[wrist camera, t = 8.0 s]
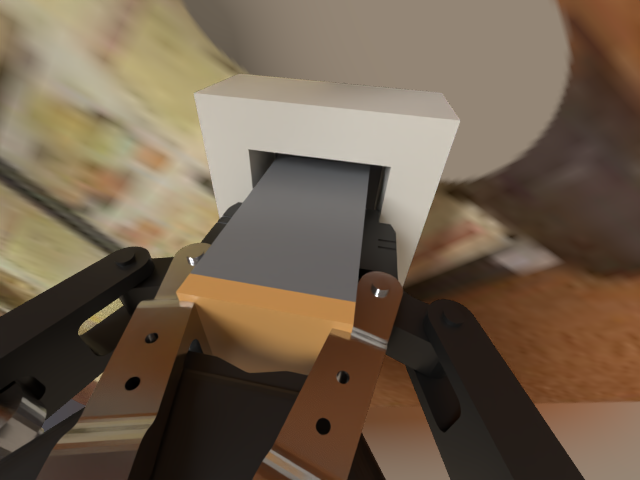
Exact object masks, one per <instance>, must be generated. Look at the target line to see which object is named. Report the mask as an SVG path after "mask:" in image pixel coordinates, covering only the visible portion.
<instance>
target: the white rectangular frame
mask: <svg viewBox="0 0 640 480" xmlns="http://www.w3.org/2000/svg"><path fill="white" fill-rule="evenodd" d="M194 98H195V102H196V107H197V112H198V117H199V122H200V126H201V131H202V136H203V141H204V146H205V150H206V155H207V160H208V165H209V170H210V175H211V179H212V184H213V189H214V194H215V199H216V203H217V208H218V213H219V218H221V217H222V216H223V214H224V213H225V212H226V210H227V209H228V208H229V207H231V206H232V205H234V204H236V203H238V202H241V203H243V202H244V200H245V199H246V198H247V196H248V195H249V194H250V192H251V191H252V190H253V188H254V187H255V186H256V184H257V183H258V182H259V180H260V179H261V178H262V176H263V175H264V174H265V172H266V171H267V170H268V168H269V167H270V166H271V164H272V163H273V162H274V160H275V159H276V158H277V156H278V155H286V156H294V157H302V158H310V159H319V160H327V161H335V162H343V163H351V164H360V165H368V166H370V171H369V180H368V190H367V199H366V209H373V210H379V223H385V224H391V226H392V227H393V229H394V231H395V232H396V245H397V250H396V251H397V269H398V281H399V282H400V283H401V285H402V288H403V285H404V282H405V279H406V276H407V273H408V270H409V267H410V265H411V262H412V259H413V256H414V253H415V250H416V247H417V244H418V242H419V239H420V236H421V233H422V230H423V227H424V224H425V221H426V219H427V216H428V213H429V210H430V207H431V204H432V201H433V198H434V196H435V193H436V190H437V187H438V184H439V181H440V178H441V175H442V173H443V170H444V166H445V164H446V161H447V158H448V155H449V152H450V150H451V147H452V144H453V141H454V138H455V135H456V132H457V129H458V127H459V124H460V119H459V118H458V116H457V115H456V113H455V112H454V110H453V109H452V107H451V106H450V104H449V103H448V101H447V100H446V98H445V97H444V95H443V94H442V93H441V92H429V91H419V90H409V89H398V88H387V87H376V86H366V85H355V84H345V83H334V82H324V81H313V80H302V79H292V78H281V77H270V76H260V75H249V74H237V75H234V76H232V77H230V78H227V79H225V80H223V81H220V82H218V83H216V84H213V85H211V86H209V87H206V88H204V89H202V90H199V91H197V92H195V93H194Z"/></svg>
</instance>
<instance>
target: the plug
mask: <svg viewBox="0 0 640 480" xmlns="http://www.w3.org/2000/svg"><path fill="white" fill-rule="evenodd" d="M369 171H370V166H368V165H360V164H351V163H343V162H335V161H327V160H319V159H310V158H302V157H294V156H286V155H278V156H277V158H276V159H275V160H274V162H273V163H272V164H271V166H270V167H269V168H268V170H267V171H266V172H265V174H264V175H263V176H262V178H261V179H260V180H259V182H258V183H257V184H256V186H255V187H254V188H253V190H252V191H251V192H250V194H249V195H248V196H247V198H246V199H245V200H244V202H243V203H242V204H241V206H240V207H239V208H238V210H237V211H236V212H235V214H234V215H233V216H232V218H231V219H230V220H229V222H228V223H227V224H226V226H225V227H224V228H223V230H222V231H221V233H220V234H219V235H218V237H217V238H216V239H215V241H214V242H213V243H212V245H211V246H210V247H209V249H208V250H207V251H206V253H205V254H204V255H203V257H202V258H201V259H200V261H199V262H198V263H197V265H196V266H195V267H194V269H193V270H192V271H191V273H190V274H189V275H188V277H187V278H186V279H185V281H184V282H183V283H182V285H181V286H180V287H179V289H178V290H177V291H176V294H177V296H178V299H179V301H188V302H194V303H195V306H196V309H197V312H198V315H199V317H200V320H201V323H202V326H203V329H204V331H205V334H206V337H207V340H208V343H209V345H210V348H211V351H212V354H213V356H217V357H219V358H221V359H223V360H225V361H227V362H228V363H230V364H232V365H234V366H236V367H238V368H240V369H241V370H243V371H245V372H248V373H259V372H276V371H290V372H295V373H300V374H304V375H309V373H310V371H311V369H312V367H313V365H314V363H315V361H316V359H317V357H318V355H319V353H320V351H321V349H322V347H323V345H324V343H325V341H326V339H327V337H328V335H329V333H330V331H331V329H332V328H334V329H338V330H342V331H346V332H350V333H352V329H353V323H354V314H355V304H356V295H357V285H358V276H359V266H360V257H361V247H362V237H363V228H364V218H365V209H366V199H367V190H368V180H369Z"/></svg>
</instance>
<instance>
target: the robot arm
mask: <svg viewBox="0 0 640 480" xmlns="http://www.w3.org/2000/svg"><path fill="white" fill-rule="evenodd" d="M241 204H242V203H241V202H238V203H236V204H234V205H232V206H231V207H229V208H228V209H227V210H226V212H225V213H224V214H223V216H222V217H221V218H220V219H219V220H218V223H216V224H215V225H214V227H213V228H212V229H211V230H210V232H209V233H208V234H207V235H206V237H205V238H204V239H203V240H202V242H201V243H194V244H190V245H187V246H185V247H183V248H182V249H180V250H179V251H178V252H177V253H176V254H175V256H174V257H167V258H154V259H152V258H151V256H150V254H149V252H148V250H146V249H145V248H142V247H127V248H123V249H120V250H118V251H115V252H114V253H112V254H110V255H108V256H106V257H105V258H103V259H101V260H99V261H98V262H96V263H94V264H92V265H91V266H89V267H87V268H85V269H84V270H82V271H80V272H78V273H77V274H75V275H73V276H71V277H69V278H68V279H66V280H64V281H62V282H61V283H59V284H57V285H55V286H54V287H52V288H50V289H48V290H47V291H45V292H43V293H41V294H40V295H38V296H36V297H34V298H33V299H31V300H29V301H27V302H25V303H24V304H22V305H20V306H18V307H17V308H15V309H13V310H11V311H10V312H8V313H6V314H4V315H3V316H1V317H0V480H386V479H385V477H384V475H383V473H382V471H381V469H380V467H379V466H378V463H377V462H376V460H375V458H374V456H373V454H372V452H371V450H370V448H369V446H368V444H367V442H366V440H365V438H364V436H363V434H362V429H363V426H364V422H365V419H366V416H367V412H368V409H369V406H370V403H371V399H372V396H373V393H374V389H375V386H376V383H377V379H378V376H379V373H380V370H381V366H382V363H383V360H384V356H385V354H386V355H388V356H390V357H392V358H393V359H395V360H397V361H399V362H401V363H403V364H405V365H406V368H407V371H408V373H409V376H410V379H411V381H412V384H413V386H414V389H415V391H416V394H417V396H418V399H419V401H420V404H421V406H422V409H423V411H424V414H425V416H426V419H427V422H428V424H429V427H430V429H431V431H432V434H433V437H434V439H435V442H436V444H437V446H438V449H439V452H440V454H441V457H442V459H443V462H444V464H445V467H446V469H447V472H448V474H449V477H450V480H585V479H584V478H583V476H582V475H581V473H580V472H579V471H578V469H577V467H576V466H575V464H574V463H573V462H572V460H571V458H570V457H569V455H568V454H567V453H566V451H565V450H564V448H563V447H562V445H561V444H560V442H559V441H558V439H557V438H556V437H555V435H554V433H553V432H552V431H551V429H550V427H549V426H548V425H547V423H546V422H545V420H544V419H543V417H542V416H541V414H540V413H539V411H538V410H537V408H536V407H535V405H534V404H533V402H532V401H531V399H530V398H529V396H528V395H527V393H526V392H525V390H524V389H523V388H522V386H521V385H520V383H519V382H518V380H517V379H516V377H515V376H514V374H513V373H512V371H511V370H510V368H509V367H508V365H507V364H506V362H505V361H504V359H503V358H502V357H501V355H500V354H499V352H498V351H497V349H496V348H495V346H494V345H493V343H492V342H491V340H490V339H489V337H488V336H487V334H486V333H485V331H484V330H483V328H482V327H481V325H480V324H479V323H478V321H477V320H476V318H475V317H474V315H473V314H472V313H471V312H470V311H469V310H468V309H467V308H466V307H464V306H463V305H461V304H459V303H457V302H455V301H451V300H446V299H441V300H436V301H434V302H432V303H431V304H430V305H429V304H427V303H424V302H422V301H420V300H417V299H415V298H413V297H412V296H410V295H409V294H408V293H406V292H405V291H404V290H403V288H402V285H401V283H400V282H399V281H398V269H397V251H396V250H397V245H396V232H395V231H394V229H393V227H392V226H391V224H385V223H379V210H373V209H365V218H364V228H363V237H362V247H361V257H360V266H359V276H358V285H357V295H356V304H355V314H354V323H353V329H352V333H350V332H346V331H342V330H338V329H334V328H332V329H331V331H330V333H329V335H328V337H327V339H326V341H325V343H324V345H323V347H322V349H321V351H320V353H319V355H318V357H317V359H316V361H315V363H314V365H313V367H312V369H311V371H310V373H309V375H304V374H300V373H295V372H290V371H276V372H259V373H248V372H245V371H243V370H241V369H240V368H238V367H236V366H234V365H232V364H230V363H228V362H227V361H225V360H223V359H221V358H219V357H217V356H213V354H212V351H211V348H210V345H209V343H208V340H207V337H206V334H205V331H204V329H203V326H202V323H201V320H200V317H199V315H198V312H197V309H196V306H195V303H194V302H188V301H179V299H178V296H177V294H176V291H177V290H178V289H179V287H180V286H181V285H182V283H183V282H184V281H185V279H186V278H187V277H188V275H189V274H190V273H191V271H192V270H193V269H194V267H195V266H196V265H197V263H198V262H199V261H200V259H201V258H202V257H203V255H204V254H205V253H206V251H207V250H208V249H209V247H210V246H211V245H212V243H213V242H214V241H215V239H216V238H217V237H218V235H219V234H220V233H221V231H222V230H223V228H224V227H225V226H226V224H227V223H228V222H229V220H230V219H231V218H232V216H233V215H234V214H235V212H236V211H237V210H238V208H239V207H240V206H241ZM118 298H119V299H120V300H121V302H122V304H123V305H124V306H122V307H121V308H119V309H118V310H117V311H115V312H114V313H112V314H111V315H110V316H108V317H107V318H106V319H104V320H103V321H101V322H100V323H99V324H97V325H96V326H94V327H93V328H92V329H90V330H89V331H87V332H86V333H84V334H82V335H78V330H79V328H80V326H81V325H82V323H83V322H84V321H86V320H87V319H88V318H90V317H91V316H93V315H94V314H96V313H97V312H99V311H100V310H102V309H103V308H105V307H106V306H107V305H109V304H110V303H112V302H113V301H115V300H116V299H118ZM101 373H103V374H102V376H101V378H100V380H99V382H98V384H97V386H96V388H95V390H94V391H93V393H92V395H91V397H90V399H89V401H88V403H87V405H86V407H84V408H83V409H81V410H79V411H78V412H76V413H74V414H73V415H71V416H70V417H68V418H67V419H65V420H63V421H62V422H60V423H59V424H57V425H55V426H54V427H52V428H50V429H49V430H47V431H46V432H44V430H43V429H42V428H41V427H42V425H43V423H44V421H45V420H46V419H48V418H49V417H50V416H51V415H52V414H54V413H55V412H56V411H57V410H58V409H60V408H61V407H62V406H63V405H64V404H66V403H67V402H68V401H69V400H70V399H71V398H73V397H74V396H75V395H76V394H77V393H79V392H80V391H81V390H82V389H83V388H85V387H86V386H87V385H88V384H89V383H91V382H92V381H93V380H94V379H95V378H97V377H98V376H99V375H100V374H101Z"/></svg>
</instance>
